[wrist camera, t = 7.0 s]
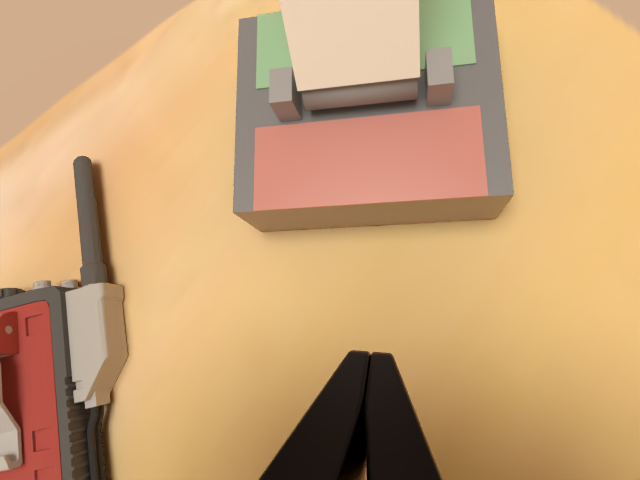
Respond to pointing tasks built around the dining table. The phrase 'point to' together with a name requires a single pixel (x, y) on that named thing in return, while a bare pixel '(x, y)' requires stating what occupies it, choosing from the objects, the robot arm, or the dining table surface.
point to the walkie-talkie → (61, 362)
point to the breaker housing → (375, 134)
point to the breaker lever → (353, 50)
